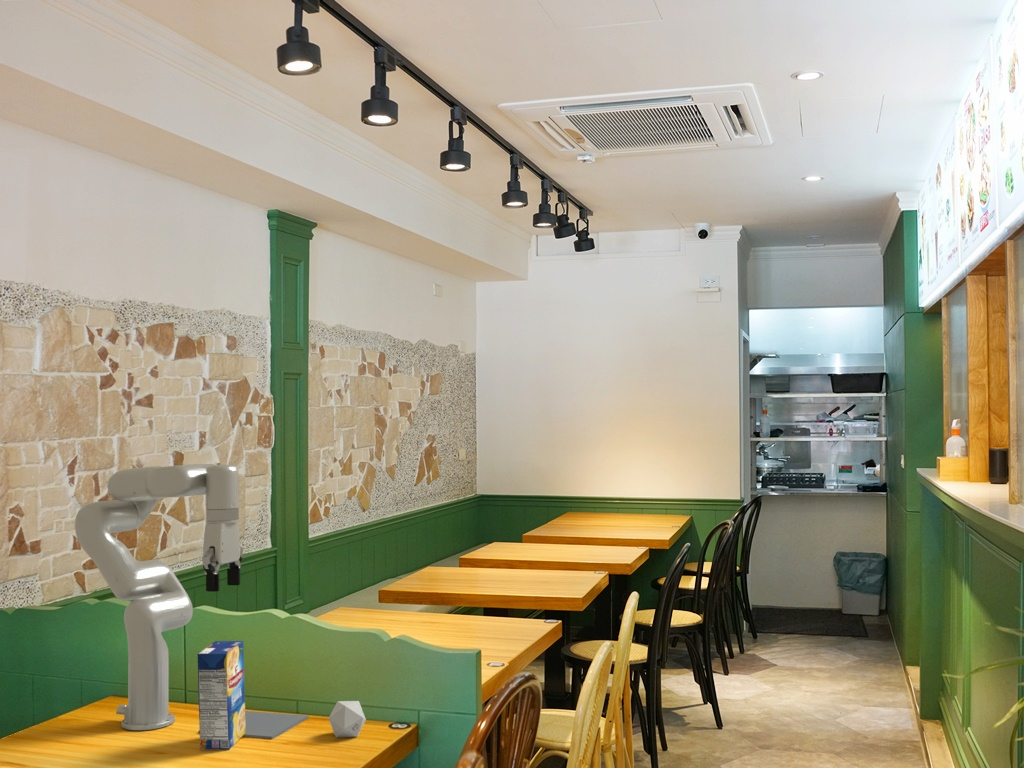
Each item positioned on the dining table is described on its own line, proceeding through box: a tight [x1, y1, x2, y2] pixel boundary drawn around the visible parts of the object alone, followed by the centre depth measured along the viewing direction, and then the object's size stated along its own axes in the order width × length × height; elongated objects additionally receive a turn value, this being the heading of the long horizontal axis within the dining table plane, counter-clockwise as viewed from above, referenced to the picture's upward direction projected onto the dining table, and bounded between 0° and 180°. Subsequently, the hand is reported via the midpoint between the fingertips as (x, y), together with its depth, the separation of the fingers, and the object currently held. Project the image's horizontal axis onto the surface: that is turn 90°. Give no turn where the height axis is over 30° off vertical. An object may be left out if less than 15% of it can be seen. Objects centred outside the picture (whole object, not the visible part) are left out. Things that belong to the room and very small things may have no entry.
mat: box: [198, 710, 309, 740], centre depth 246 cm, size 20×18×1 cm
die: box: [328, 700, 367, 738], centre depth 237 cm, size 8×9×10 cm
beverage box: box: [197, 640, 246, 751], centre depth 233 cm, size 7×11×22 cm, turn 175°
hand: (223, 588), depth 238 cm, fingers open, 9 cm apart
